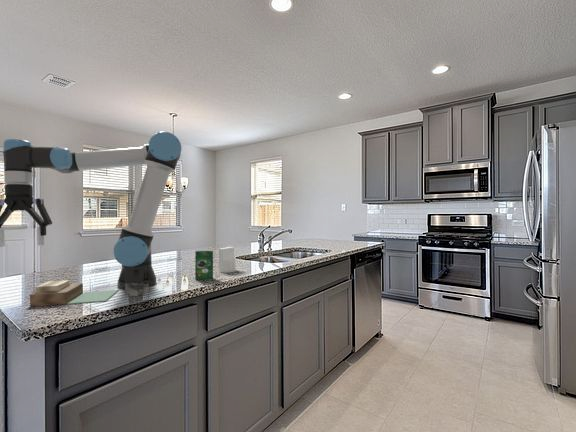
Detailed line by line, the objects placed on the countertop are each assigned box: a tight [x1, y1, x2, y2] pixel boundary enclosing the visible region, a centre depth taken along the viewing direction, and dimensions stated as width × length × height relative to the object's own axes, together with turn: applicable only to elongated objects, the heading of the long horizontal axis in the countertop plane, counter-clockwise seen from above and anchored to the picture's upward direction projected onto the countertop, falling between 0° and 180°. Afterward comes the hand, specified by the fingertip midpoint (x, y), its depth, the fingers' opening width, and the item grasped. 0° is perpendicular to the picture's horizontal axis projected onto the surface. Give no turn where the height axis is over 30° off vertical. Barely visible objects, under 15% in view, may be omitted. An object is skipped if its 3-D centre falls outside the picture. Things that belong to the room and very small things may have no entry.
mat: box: [66, 289, 120, 305], centre depth 118 cm, size 12×16×1 cm
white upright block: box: [217, 246, 237, 274], centre depth 166 cm, size 9×9×12 cm
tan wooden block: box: [29, 283, 84, 307], centre depth 115 cm, size 11×14×4 cm
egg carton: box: [125, 283, 150, 297], centre depth 123 cm, size 11×8×4 cm
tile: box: [34, 279, 71, 293], centre depth 115 cm, size 7×9×2 cm
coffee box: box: [194, 250, 214, 281], centre depth 147 cm, size 8×3×13 cm, turn 108°
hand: (21, 245), depth 112 cm, fingers open, 11 cm apart
